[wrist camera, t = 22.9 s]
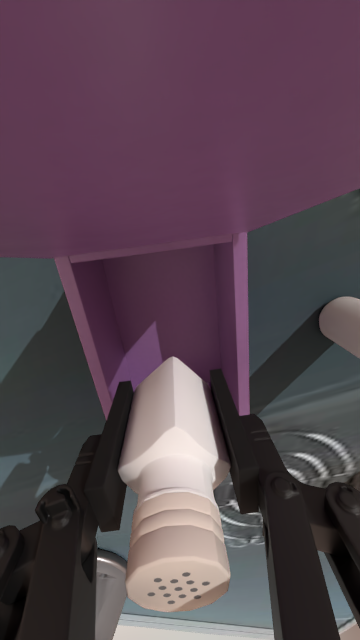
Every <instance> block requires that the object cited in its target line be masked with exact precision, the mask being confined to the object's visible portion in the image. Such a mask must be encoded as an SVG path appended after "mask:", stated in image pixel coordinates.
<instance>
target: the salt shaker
mask: <svg viewBox="0 0 360 640" xmlns="http://www.w3.org/2000/svg"><path fill="white" fill-rule="evenodd" d="M230 468H231V462H230V459H229V455H228V451H227V447H226V444H225V440H224V436H223V433H222V429H221V425H220V421H219V418H218V414H217V410H216V407H215V403H214V399H213V395H212V392H211V389H210V386H209V385H208V384H207V383H206V382H205V381H204V380H202V379H201V378H200V377H199V376H198V375H197V374H195V373H194V372H193V371H192V370H191V369H190V368H188V367H187V366H186V365H185V364H184V363H183V362H181V361H180V360H179V359H178V358H176V357H173V356H172V357H170V358H168V359H167V360H166V361H165V362H163V363H162V364H161V365H160V366H159V367H158V368H157V369H156V370H154V371H153V372H152V373H151V374H150V375H149V376H148V377H147V378H145V379H144V380H143V381H142V382H141V383H140V384H139V385H138V386H137V387H136V389H135V391H134V395H133V399H132V404H131V409H130V413H129V418H128V423H127V427H126V432H125V437H124V441H123V446H122V450H121V455H120V460H119V464H118V472H119V475H120V477H121V479H122V481H123V482H124V483H125V484H127V485H128V486H129V487H130V488H131V489H132V490H133V491H134V492H135V493H137V494H138V503H137V506H136V508H135V510H134V514H133V522H132V533H131V538H130V550H129V554H128V562H127V570H126V578H125V584H126V590H127V596H128V598H129V599H131V600H132V601H134V602H135V603H137V604H138V605H140V606H141V607H143V608H146V609H151V610H156V611H162V612H177V611H190V610H193V609H196V608H199V607H203V606H206V605H209V604H212V603H213V602H214V601H216V600H217V599H218V598H219V597H221V596H222V595H223V594H224V593H226V592H227V591H228V587H229V581H230V575H231V574H230V568H229V563H228V557H227V552H226V546H225V544H224V535H223V530H222V528H221V519H220V513H219V508H218V505H217V504H216V502H215V500H214V495H213V490H214V489H215V488H216V487H217V486H218V485H219V484H220V483H221V482H222V481H223V480H224V479H225V478H226V477H227V475H228V472H229V470H230Z"/></svg>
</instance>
